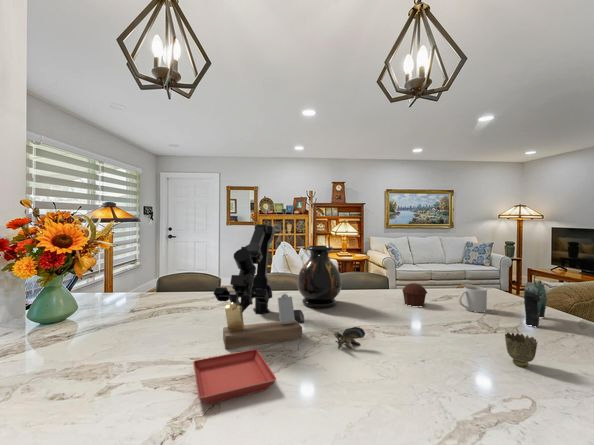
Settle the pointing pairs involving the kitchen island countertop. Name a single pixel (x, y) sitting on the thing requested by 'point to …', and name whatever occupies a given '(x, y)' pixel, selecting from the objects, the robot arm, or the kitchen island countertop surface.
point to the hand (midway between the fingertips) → (235, 317)
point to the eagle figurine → (349, 336)
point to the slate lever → (286, 309)
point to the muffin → (414, 294)
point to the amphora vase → (319, 279)
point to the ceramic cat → (534, 302)
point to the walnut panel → (262, 334)
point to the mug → (474, 298)
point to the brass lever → (234, 317)
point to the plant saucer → (232, 375)
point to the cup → (521, 348)
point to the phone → (298, 316)
